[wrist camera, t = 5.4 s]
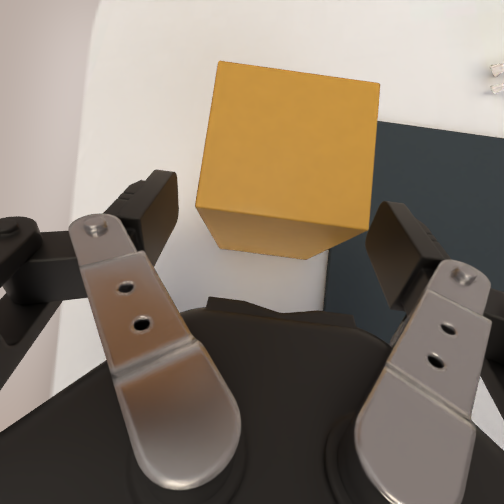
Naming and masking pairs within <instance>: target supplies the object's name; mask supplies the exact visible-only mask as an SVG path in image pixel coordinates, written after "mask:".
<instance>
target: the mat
mask: <svg viewBox="0 0 504 504" xmlns="http://www.w3.org/2000/svg"><path fill="white" fill-rule="evenodd" d="M383 201H389V202H397V203H404V204H405V205H406V206H407V208H408V209H409V210H410V212H411V213H412V214H413V216H414V217H415V218H416V219H418V220H419V221H420V222H422V223H423V224H425V225H426V226H427V228H428V229H429V230H430V232H431V233H432V235H434V237H435V238H436V239H437V242H439V243H440V245H441V246H442V247H443V249H444V250H445V251H446V253H447V254H448V255H449V257H450V258H451V259H452V260H456V261H460V262H463V263H466V264H469V265H471V266H473V267H474V268H476V269H478V270H479V271H481V272H482V273H483V274H484V275H485V276H486V277H487V278H488V279H489V281H490V283H491V288H492V289H496V290H499V291H502V292H504V139H503V138H496V137H489V136H482V135H475V134H467V133H460V132H453V131H446V130H439V129H432V128H424V127H417V126H410V125H403V124H396V123H389V122H381V121H377V131H376V143H375V156H374V168H373V181H372V194H371V206H370V219H369V228H370V226H371V224H372V221H373V219H374V217H375V214H376V212H377V210H378V207H379V205H380V204H381V203H382V202H383ZM368 231H369V229H368ZM368 231H365V232H363V233H361V234H359V235H357V236H355V237H353V238H351V239H349V240H347V241H344V242H342V243H340V244H338V245H336V246H334V247H332V248H330V249H329V256H328V266H327V276H326V287H325V297H324V307H323V311H325V312H333V313H341V314H349V315H353V316H354V320H355V323H356V327H358V328H361V329H363V330H365V331H368V332H370V333H372V334H373V335H375V336H377V337H379V338H380V339H382V340H383V341H385V342H386V343H387V344H388V343H389V341H390V340H391V338H392V336H393V335H394V333H395V331H396V329H397V328H398V326H399V324H400V323H401V321H402V319H403V318H404V316H405V315H406V312H405V311H397V310H390V308H389V306H388V303H387V301H386V298H385V296H384V293H383V291H382V288H381V286H380V283H379V281H378V278H377V276H376V274H375V271H374V269H373V266H372V264H371V261H370V259H369V256H368V254H367V251H366V248H365V240H366V236H367V233H368Z"/></svg>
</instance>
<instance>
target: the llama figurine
mask: <svg viewBox="0 0 504 504" xmlns="http://www.w3.org/2000/svg"><path fill="white" fill-rule="evenodd" d="M490 69H491V71H492V73H493V75H494V77H497V76H498V75H499V74H501V73H502V72H503V71H504V64H496V65H491V66H490ZM503 89H504V83H503V84H498V85H493V86H491V91H493V92H494V93H495V94H497V93H498V92H500V91H501V90H503Z"/></svg>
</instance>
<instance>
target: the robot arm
mask: <svg viewBox="0 0 504 504" xmlns="http://www.w3.org/2000/svg"><path fill="white" fill-rule="evenodd" d="M178 212H179V206H178V185H177V175H176V173H175V172H170V171H163V170H154V171H153V173H152V174H151V175H150V176H149V177H148V178H147V179H146V181H143V180H140V181H138V182H136V183H134V184H131V185H130V186H129V187H128V188H127V189H126V190H125V191H124V193H122V194H121V195H120V196H119V197H118V199H116V200H115V201H114V202H113V204H112V205H111V206H110V207H109V208H108V209H107V210H106V211H105V212H104V213H103V214H91V215H87V216H83V217H81V218H79V219H77V220H75V221H74V222H72V223H71V224H70V226H69V231H57V232H40V231H39V228H38V226H37V223H36V222H35V221H34V220H33V219H30V218H27V217H6V218H1V219H0V288H1V287H2V286H3V288H4V289H5V291H6V294H5V295H4V296H3V297H2V298H1V299H0V390H1V388H2V387H3V386H4V384H5V383H6V381H7V380H8V379H9V377H10V376H11V374H12V373H13V371H14V370H15V369H16V367H17V366H18V364H19V363H20V361H21V360H22V359H23V357H24V356H25V354H26V353H27V351H28V350H29V348H30V347H31V346H32V344H33V343H34V341H35V340H36V338H37V337H38V335H39V334H40V333H41V331H42V330H43V328H44V327H45V325H46V324H47V323H48V321H49V320H50V318H51V317H52V315H53V314H54V313H55V311H56V310H57V308H58V307H59V306H60V304H61V303H62V301H63V300H71V299H80V298H88V299H89V302H90V306H91V309H92V312H93V316H94V319H95V323H96V326H97V329H98V333H99V336H100V339H101V343H102V346H103V349H104V353H105V356H106V359H107V360H106V361H104V362H103V363H101V364H100V365H98V366H97V367H96V368H94V369H93V370H91V371H90V372H88V373H87V374H85V375H84V376H82V377H81V378H79V379H78V380H77V381H75V382H74V383H72V384H71V385H69V386H68V387H66V388H65V389H63V390H62V391H60V392H59V393H57V394H56V395H55V396H53V397H52V398H50V399H49V400H47V401H46V402H44V403H43V404H42V405H40V406H38V407H37V408H35V409H34V410H33V411H31V412H30V413H28V414H27V415H25V416H24V417H22V418H21V419H20V420H18V421H16V422H15V423H13V424H12V425H11V426H9V427H8V428H6V429H5V430H3V431H2V432H0V504H504V451H503V450H502V449H501V448H500V447H499V446H498V445H497V444H496V443H495V442H494V441H493V440H492V439H491V438H489V437H488V436H487V435H486V434H485V433H484V432H483V431H482V430H481V429H480V428H479V427H478V426H477V425H475V424H474V423H473V421H472V419H471V413H472V409H473V404H474V400H475V396H476V391H477V387H478V382H479V378H480V376H481V378H482V380H483V382H484V384H485V385H486V387H487V389H488V391H489V393H490V395H491V397H492V399H493V401H494V402H495V404H496V406H497V408H498V410H499V412H500V414H501V416H502V418H503V419H504V292H502V291H499V290H496V289H492V288H491V283H490V281H489V279H488V278H487V277H486V276H485V275H484V274H483V273H482V272H481V271H479V270H478V269H476V268H474V267H473V266H471V265H469V264H466V263H463V262H460V261H456V260H452V259H451V258H450V257H449V255H448V254H447V253H446V251H445V250H444V249H443V247H442V246H441V245H440V243H439V242H437V239H436V238H435V237H434V235H432V233H431V232H430V230H429V229H428V228H427V226H426V225H425V224H423V223H422V222H420V221H419V220H418V219H416V218H415V217H414V216H413V214H412V213H411V212H410V210H409V209H408V208H407V206H406V205H405V204H404V203H397V202H389V201H383V202H382V203H381V204H380V205H379V207H378V210H377V212H376V214H375V217H374V219H373V221H372V224H371V226H370V228H369V231H368V233H367V236H366V240H365V248H366V251H367V254H368V256H369V259H370V261H371V264H372V266H373V269H374V271H375V274H376V276H377V278H378V281H379V283H380V286H381V288H382V291H383V293H384V296H385V298H386V301H387V303H388V306H389V308H390V310H397V311H405V312H406V315H405V316H404V318H403V319H402V321H401V323H400V324H399V326H398V328H397V329H396V331H395V333H394V335H393V336H392V338H391V340H390V341H389V343H388V344H387V343H386V342H385V341H383V340H382V339H380V338H379V337H377V336H375V335H373V334H372V333H370V332H368V331H365V330H363V329H361V328H358V327H356V323H355V320H354V316H353V315H349V314H341V313H333V312H325V311H306V312H294V313H279V312H275V311H273V310H270V309H267V308H264V307H261V306H258V305H255V304H252V303H249V302H246V301H240V300H232V299H225V298H217V297H208V301H207V305H206V307H203V308H197V309H191V310H188V311H184V312H181V313H179V311H178V309H177V308H176V306H175V304H174V302H173V301H172V299H171V297H170V295H169V294H168V292H167V290H166V288H165V287H164V285H163V283H162V281H161V279H160V278H159V276H158V274H157V272H156V271H155V269H154V266H155V264H156V262H157V260H158V258H159V256H160V254H161V252H162V250H163V248H164V246H165V244H166V242H167V240H168V238H169V237H170V235H171V233H172V231H173V229H174V227H175V225H176V223H177V219H178Z"/></svg>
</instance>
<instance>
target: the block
mask: <svg viewBox="0 0 504 504" xmlns="http://www.w3.org/2000/svg"><path fill="white" fill-rule="evenodd" d="M379 93H380V84H379V83H374V82H367V81H360V80H352V79H345V78H338V77H331V76H324V75H317V74H310V73H303V72H296V71H289V70H281V69H274V68H267V67H260V66H253V65H246V64H239V63H232V62H225V61H219V62H218V66H217V72H216V78H215V85H214V91H213V97H212V103H211V110H210V116H209V122H208V128H207V134H206V141H205V147H204V153H203V159H202V166H201V172H200V178H199V184H198V190H197V197H196V203H195V207H196V209H197V211H198V212H199V214H200V216H201V217H202V219H203V221H204V223H205V224H206V226H207V228H208V229H209V231H210V233H211V235H212V236H213V238H214V240H215V241H216V243H217V245H218V247H219V248H221V249H229V250H236V251H244V252H251V253H259V254H266V255H274V256H281V257H289V258H296V259H304V260H307V259H309V258H311V257H313V256H315V255H317V254H319V253H321V252H323V251H326V250H328V249H330V248H332V247H334V246H336V245H338V244H340V243H342V242H344V241H347V240H349V239H351V238H353V237H355V236H357V235H359V234H361V233H363V232H365V231H368V229H369V219H370V206H371V194H372V181H373V168H374V156H375V143H376V131H377V118H378V106H379Z"/></svg>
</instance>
